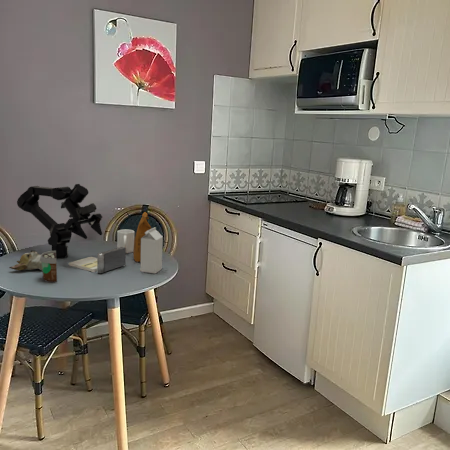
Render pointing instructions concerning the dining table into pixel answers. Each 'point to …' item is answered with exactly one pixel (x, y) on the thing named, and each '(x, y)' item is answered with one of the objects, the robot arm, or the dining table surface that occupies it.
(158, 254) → the milk carton
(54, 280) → the food container
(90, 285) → the dining table surface
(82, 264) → the label board
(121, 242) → the mug
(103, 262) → the swing panel
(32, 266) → the ceramic sculpture
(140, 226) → the coffee package
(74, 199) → the robot arm
